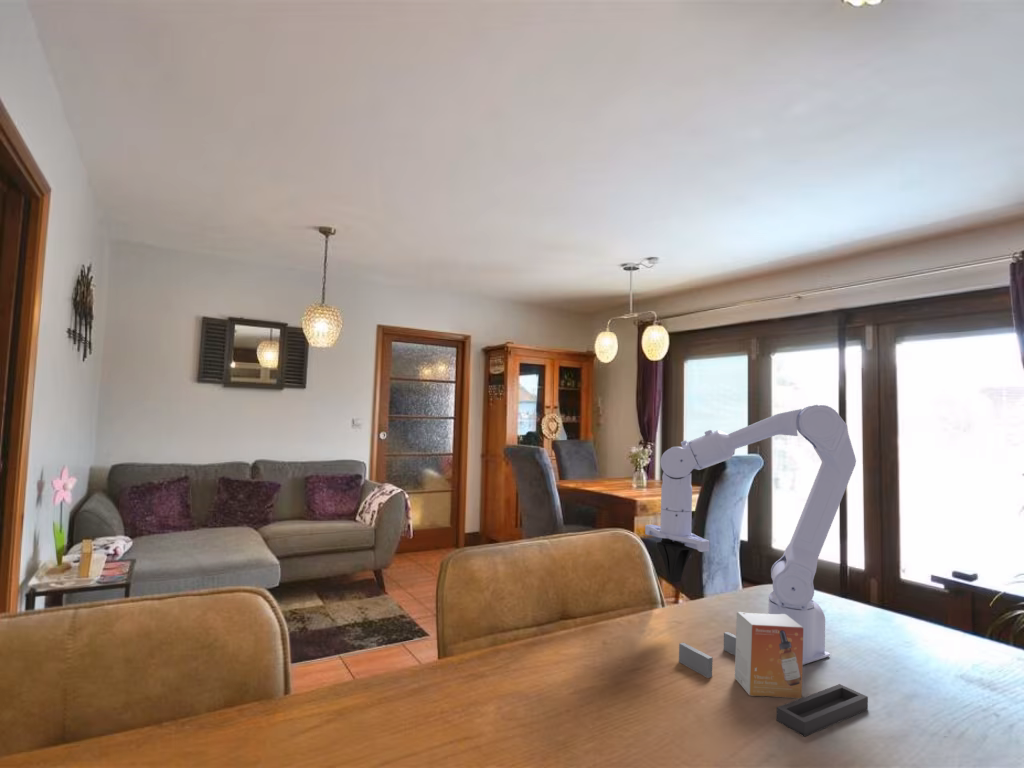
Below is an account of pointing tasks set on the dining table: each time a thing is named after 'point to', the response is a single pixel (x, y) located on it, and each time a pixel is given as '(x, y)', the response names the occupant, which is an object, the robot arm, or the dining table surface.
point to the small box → (769, 655)
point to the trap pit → (821, 709)
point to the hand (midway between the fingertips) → (674, 580)
